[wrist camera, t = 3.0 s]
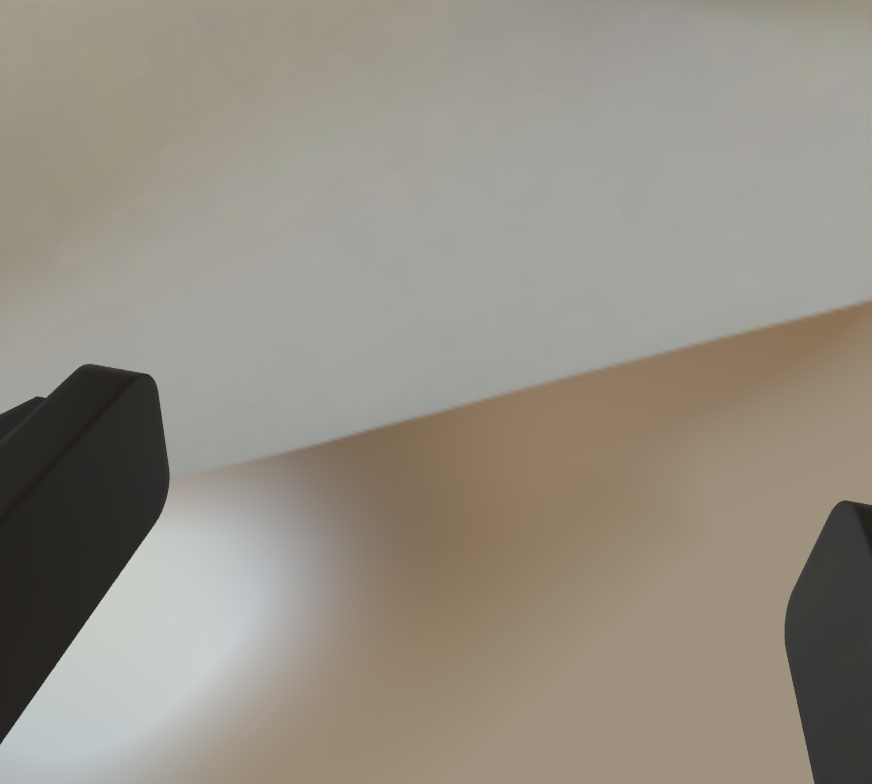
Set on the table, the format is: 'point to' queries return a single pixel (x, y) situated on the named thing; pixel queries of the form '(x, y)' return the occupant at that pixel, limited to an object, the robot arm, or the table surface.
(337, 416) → the table surface
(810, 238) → the table surface
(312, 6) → the table surface
